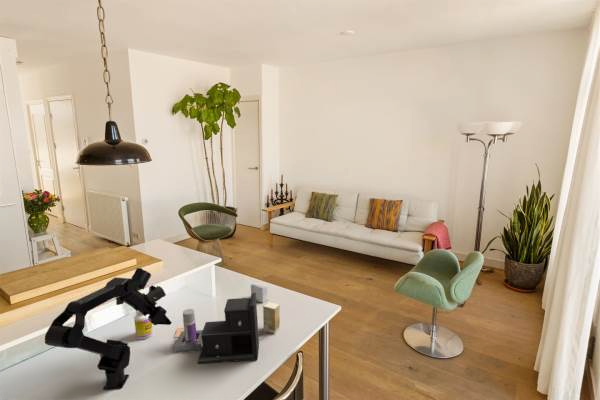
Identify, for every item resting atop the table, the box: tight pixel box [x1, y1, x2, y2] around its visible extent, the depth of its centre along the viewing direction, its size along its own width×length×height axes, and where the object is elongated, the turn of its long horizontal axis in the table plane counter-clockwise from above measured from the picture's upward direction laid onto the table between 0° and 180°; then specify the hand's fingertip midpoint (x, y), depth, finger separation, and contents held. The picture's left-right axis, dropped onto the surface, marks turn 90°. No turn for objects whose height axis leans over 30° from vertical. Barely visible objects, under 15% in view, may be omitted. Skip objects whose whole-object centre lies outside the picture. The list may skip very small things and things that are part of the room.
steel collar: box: [174, 329, 203, 353], centre depth 143 cm, size 10×10×3 cm
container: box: [182, 308, 198, 342], centre depth 142 cm, size 5×5×15 cm
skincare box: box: [262, 301, 281, 335], centre depth 151 cm, size 6×4×12 cm
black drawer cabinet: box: [196, 293, 260, 365], centre depth 134 cm, size 23×11×24 cm, turn 94°
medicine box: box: [250, 281, 269, 304], centre depth 179 cm, size 8×4×9 cm, turn 58°
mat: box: [173, 327, 184, 339], centre depth 152 cm, size 7×7×1 cm
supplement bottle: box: [133, 310, 154, 340], centre depth 149 cm, size 7×7×13 cm
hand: (166, 319), depth 137 cm, fingers open, 9 cm apart
